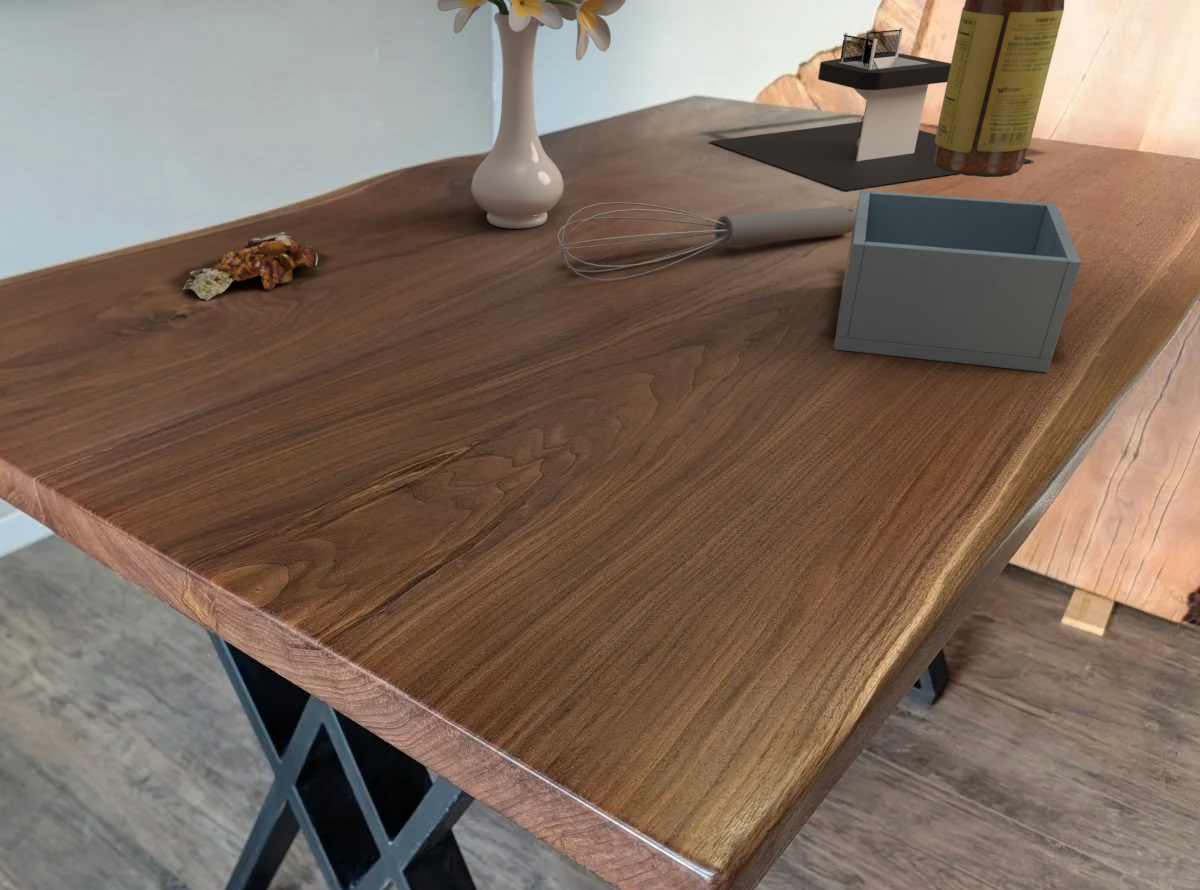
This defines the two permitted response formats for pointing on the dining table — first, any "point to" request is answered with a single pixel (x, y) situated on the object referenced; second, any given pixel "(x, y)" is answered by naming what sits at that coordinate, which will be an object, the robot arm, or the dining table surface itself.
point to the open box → (957, 280)
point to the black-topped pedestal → (863, 122)
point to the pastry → (253, 265)
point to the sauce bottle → (995, 85)
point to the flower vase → (526, 106)
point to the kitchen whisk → (733, 230)
